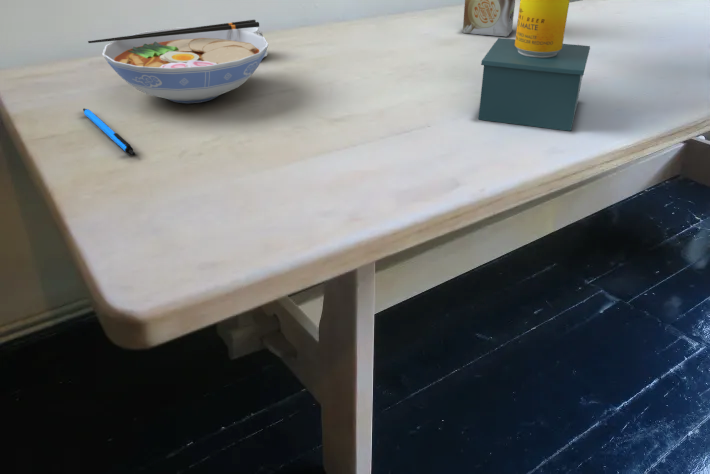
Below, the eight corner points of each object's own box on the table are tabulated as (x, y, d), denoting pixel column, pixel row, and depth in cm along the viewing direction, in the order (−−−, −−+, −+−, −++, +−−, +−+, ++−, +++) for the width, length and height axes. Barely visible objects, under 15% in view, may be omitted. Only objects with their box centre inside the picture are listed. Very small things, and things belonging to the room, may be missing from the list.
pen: (130, 158, 77) (128, 149, 76) (80, 112, 90) (79, 104, 90) (137, 156, 77) (136, 147, 77) (87, 111, 91) (85, 103, 90)
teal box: (580, 102, 95) (590, 45, 91) (573, 132, 85) (584, 70, 81) (492, 92, 99) (498, 37, 95) (475, 120, 89) (481, 60, 85)
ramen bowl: (115, 135, 83) (103, 71, 79) (94, 84, 101) (83, 30, 97) (301, 107, 93) (299, 49, 89) (251, 65, 111) (247, 15, 106)
